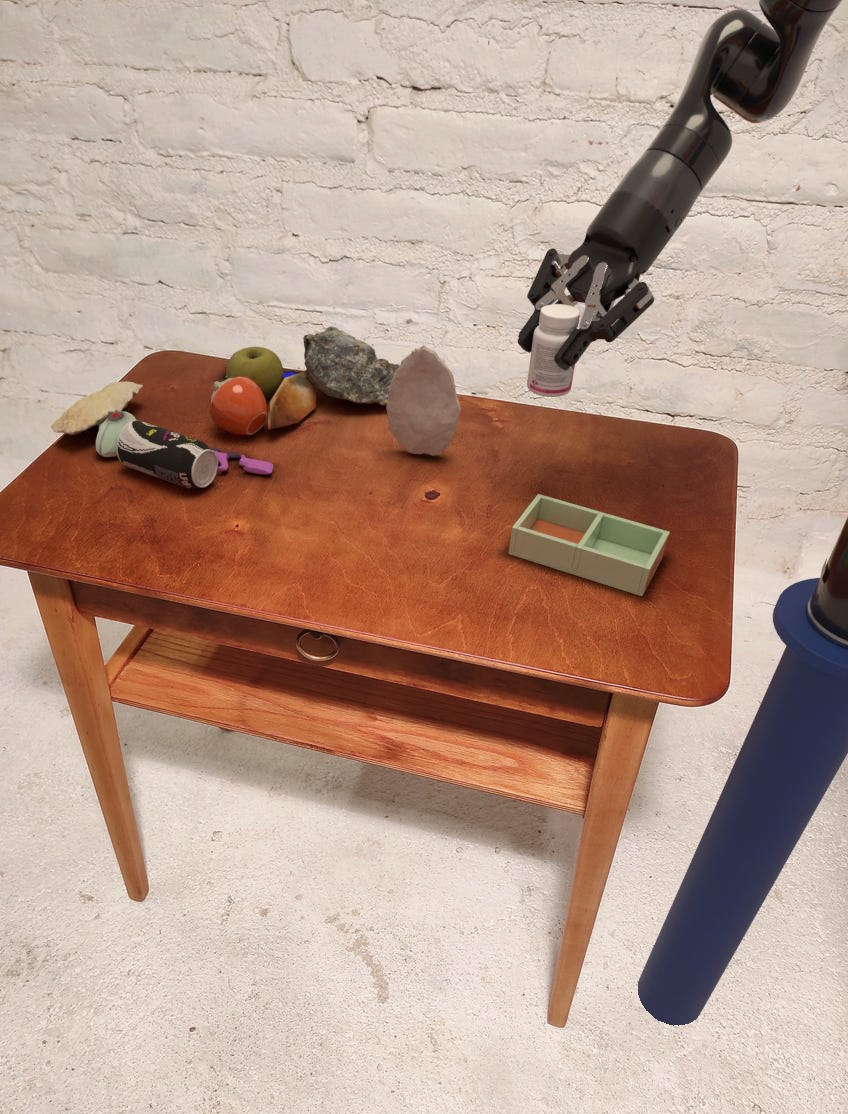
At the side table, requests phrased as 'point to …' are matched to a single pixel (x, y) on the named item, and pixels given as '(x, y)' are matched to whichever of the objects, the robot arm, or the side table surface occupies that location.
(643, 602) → the side table surface
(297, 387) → the decorative stone
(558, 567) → the divided tray
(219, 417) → the tomato
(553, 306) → the pill bottle
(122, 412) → the robot head
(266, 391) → the apple
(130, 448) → the beverage can
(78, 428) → the stone tool
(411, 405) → the stone tool
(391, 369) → the rock
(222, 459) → the pink plastic clamp
